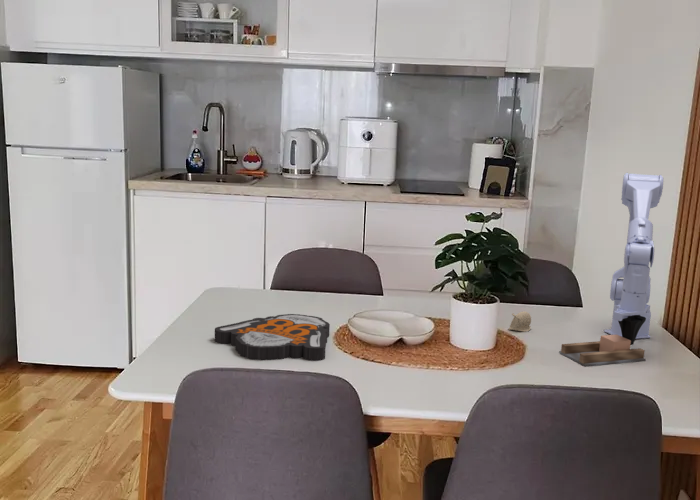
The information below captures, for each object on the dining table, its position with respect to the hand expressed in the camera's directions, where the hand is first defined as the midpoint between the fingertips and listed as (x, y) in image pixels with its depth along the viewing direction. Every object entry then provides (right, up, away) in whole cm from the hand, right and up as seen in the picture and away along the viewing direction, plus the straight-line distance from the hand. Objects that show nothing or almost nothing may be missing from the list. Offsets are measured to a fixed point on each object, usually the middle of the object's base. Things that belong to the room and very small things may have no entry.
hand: (628, 343), depth 178 cm
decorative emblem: (-86, 0, -1) cm, 86 cm away
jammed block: (-4, -3, -1) cm, 5 cm away
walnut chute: (-7, -3, -2) cm, 8 cm away
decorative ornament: (-23, +1, +18) cm, 29 cm away
